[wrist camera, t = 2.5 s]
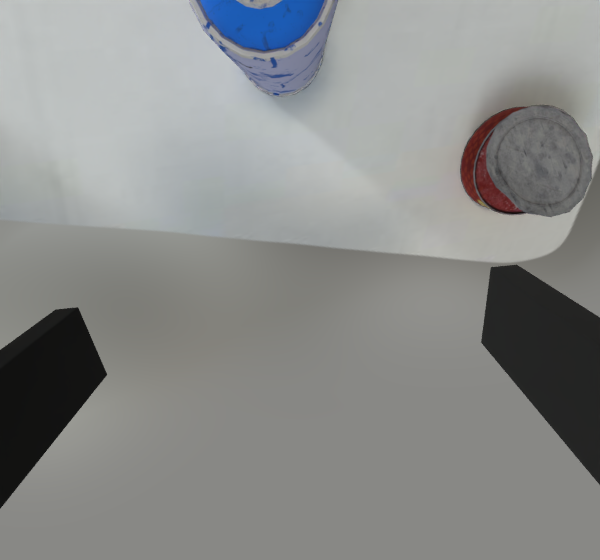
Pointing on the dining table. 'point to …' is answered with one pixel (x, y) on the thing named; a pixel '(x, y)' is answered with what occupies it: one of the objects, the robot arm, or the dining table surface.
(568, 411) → the robot arm
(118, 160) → the dining table surface
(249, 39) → the aerosol can
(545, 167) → the canned food
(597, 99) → the dining table surface
